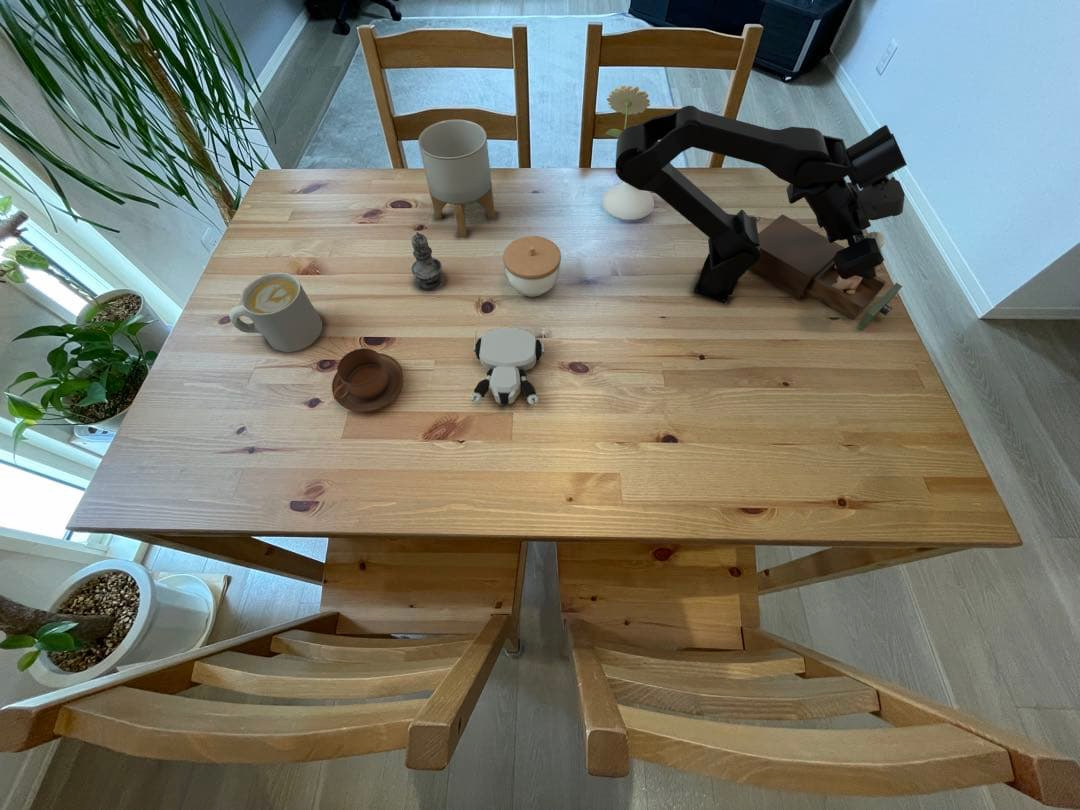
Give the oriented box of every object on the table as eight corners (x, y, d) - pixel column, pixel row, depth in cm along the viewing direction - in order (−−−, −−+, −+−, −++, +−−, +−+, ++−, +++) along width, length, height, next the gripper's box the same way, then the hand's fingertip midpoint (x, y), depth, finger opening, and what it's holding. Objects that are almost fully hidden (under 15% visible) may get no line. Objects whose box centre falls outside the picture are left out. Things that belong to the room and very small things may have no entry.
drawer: (896, 304, 96) (909, 289, 92) (868, 333, 92) (880, 319, 89) (830, 267, 101) (839, 252, 98) (801, 293, 97) (810, 278, 94)
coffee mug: (325, 309, 98) (304, 270, 90) (318, 349, 93) (295, 312, 85) (255, 314, 98) (227, 275, 89) (243, 355, 93) (213, 318, 84)
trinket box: (530, 314, 97) (528, 277, 89) (494, 284, 101) (490, 246, 93) (571, 286, 100) (573, 249, 92) (535, 258, 105) (534, 220, 97)
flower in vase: (661, 203, 114) (687, 83, 92) (638, 232, 109) (659, 113, 87) (609, 184, 118) (622, 65, 96) (585, 212, 112) (593, 93, 91)
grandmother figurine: (855, 279, 98) (893, 224, 87) (865, 293, 96) (905, 239, 85) (817, 284, 97) (850, 229, 86) (826, 298, 95) (861, 244, 84)
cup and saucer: (384, 425, 84) (373, 405, 79) (322, 404, 87) (307, 384, 81) (417, 370, 90) (409, 348, 85) (359, 352, 93) (347, 329, 87)
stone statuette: (410, 287, 101) (394, 238, 91) (424, 267, 104) (410, 218, 94) (436, 295, 100) (423, 246, 90) (450, 275, 103) (439, 225, 93)
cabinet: (830, 269, 102) (844, 247, 97) (798, 299, 98) (811, 277, 93) (772, 236, 107) (782, 214, 103) (739, 263, 103) (748, 241, 98)
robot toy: (541, 413, 86) (544, 339, 93) (541, 400, 82) (544, 324, 89) (469, 411, 87) (478, 338, 93) (465, 398, 83) (474, 323, 89)
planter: (493, 236, 109) (483, 157, 94) (432, 236, 109) (413, 158, 94) (496, 198, 116) (488, 119, 100) (439, 198, 116) (423, 119, 101)
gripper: (905, 209, 71) (937, 274, 80) (874, 134, 81) (905, 199, 90) (821, 250, 78) (858, 305, 87) (802, 176, 88) (837, 233, 97)
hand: (866, 258), depth 90 cm, fingers open, 9 cm apart
